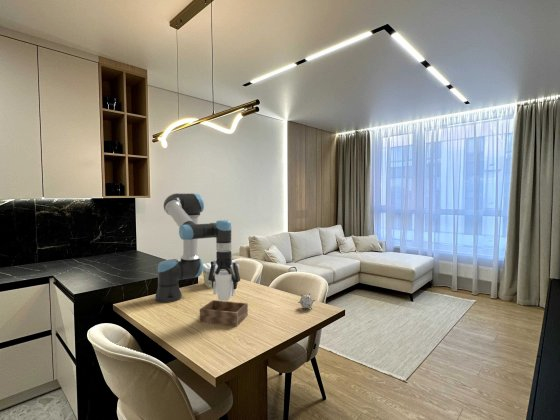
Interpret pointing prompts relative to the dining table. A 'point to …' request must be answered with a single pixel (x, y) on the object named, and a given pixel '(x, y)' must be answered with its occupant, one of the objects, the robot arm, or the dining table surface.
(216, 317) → the brown wooden tray
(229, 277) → the foam cup
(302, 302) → the grey spiked ball
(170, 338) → the dining table surface
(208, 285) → the storage basket
